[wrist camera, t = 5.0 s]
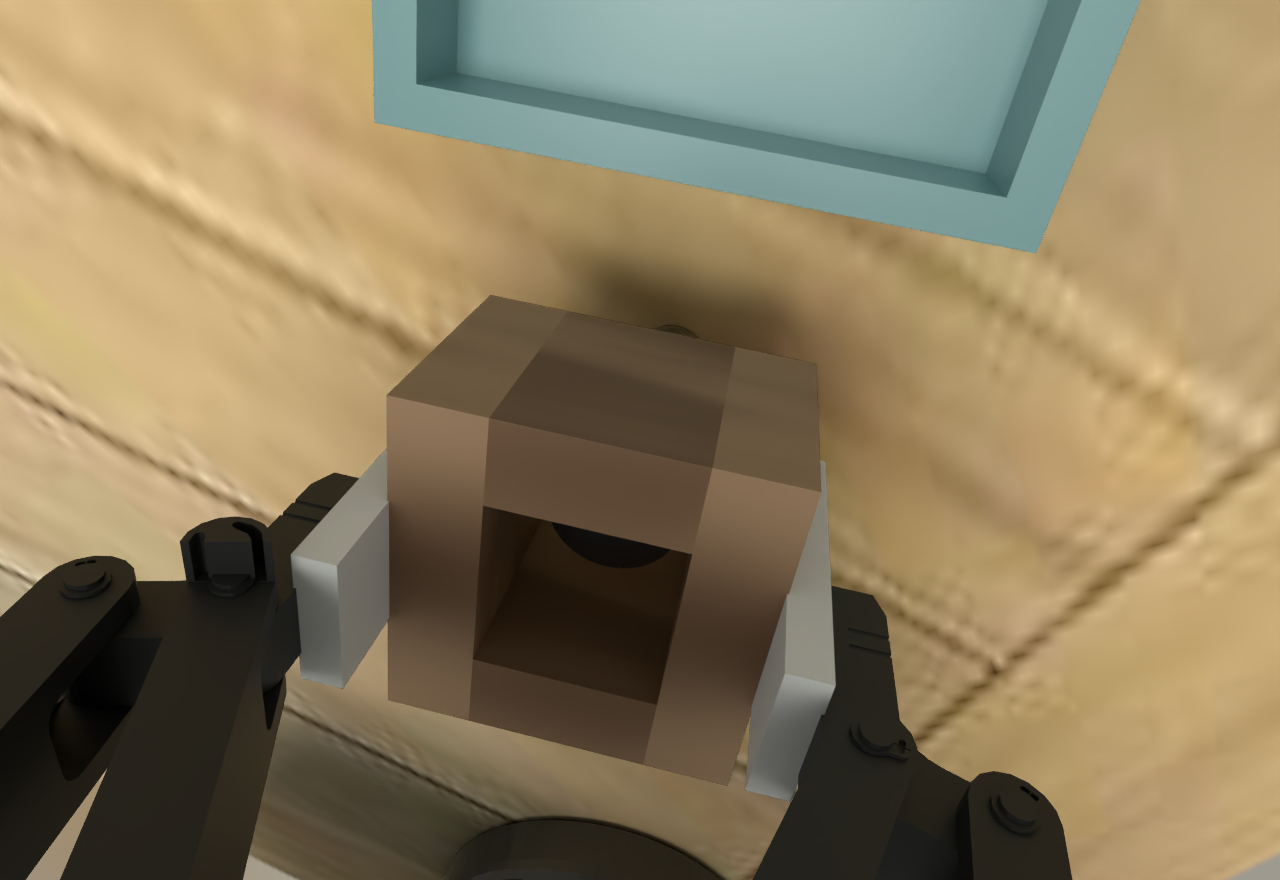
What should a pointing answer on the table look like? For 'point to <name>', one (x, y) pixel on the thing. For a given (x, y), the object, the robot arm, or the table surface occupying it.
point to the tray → (774, 96)
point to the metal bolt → (611, 547)
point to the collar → (595, 530)
